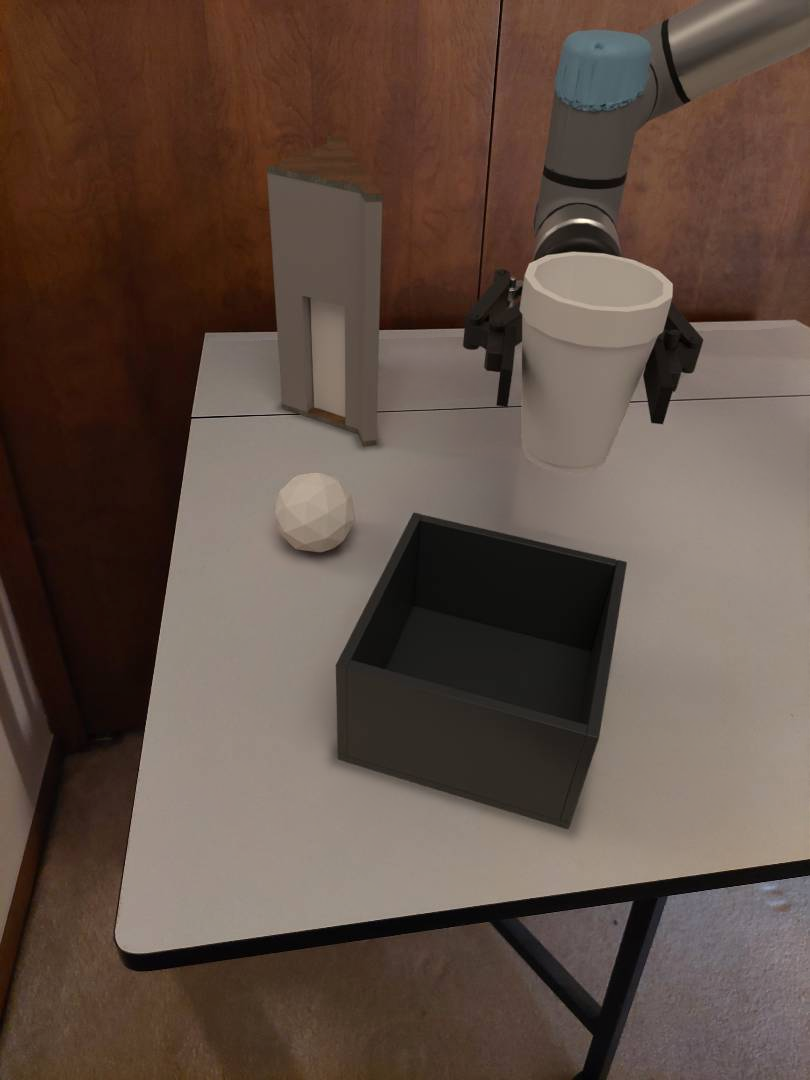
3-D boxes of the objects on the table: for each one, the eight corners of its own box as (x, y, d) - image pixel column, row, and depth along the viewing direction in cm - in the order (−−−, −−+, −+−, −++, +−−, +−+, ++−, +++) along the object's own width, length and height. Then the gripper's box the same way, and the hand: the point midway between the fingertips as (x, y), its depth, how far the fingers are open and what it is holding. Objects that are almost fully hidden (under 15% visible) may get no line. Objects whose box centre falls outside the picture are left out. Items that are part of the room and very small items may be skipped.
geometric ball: (331, 552, 83) (377, 494, 80) (312, 581, 75) (362, 518, 72) (272, 507, 82) (316, 447, 79) (247, 531, 74) (295, 466, 72)
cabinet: (376, 444, 93) (382, 194, 75) (293, 453, 91) (279, 197, 73) (342, 360, 108) (341, 135, 90) (271, 365, 106) (255, 137, 88)
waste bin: (599, 653, 70) (627, 561, 63) (568, 829, 57) (599, 738, 50) (407, 604, 73) (413, 512, 66) (337, 759, 60) (335, 665, 53)
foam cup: (541, 498, 55) (575, 320, 46) (478, 429, 61) (498, 261, 53) (653, 470, 58) (705, 299, 50) (583, 407, 64) (618, 245, 56)
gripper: (695, 320, 70) (739, 464, 53) (445, 295, 72) (410, 426, 55) (721, 234, 65) (778, 362, 48) (452, 209, 67) (416, 324, 50)
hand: (582, 396), depth 52 cm, fingers closed on foam cup, 9 cm apart
